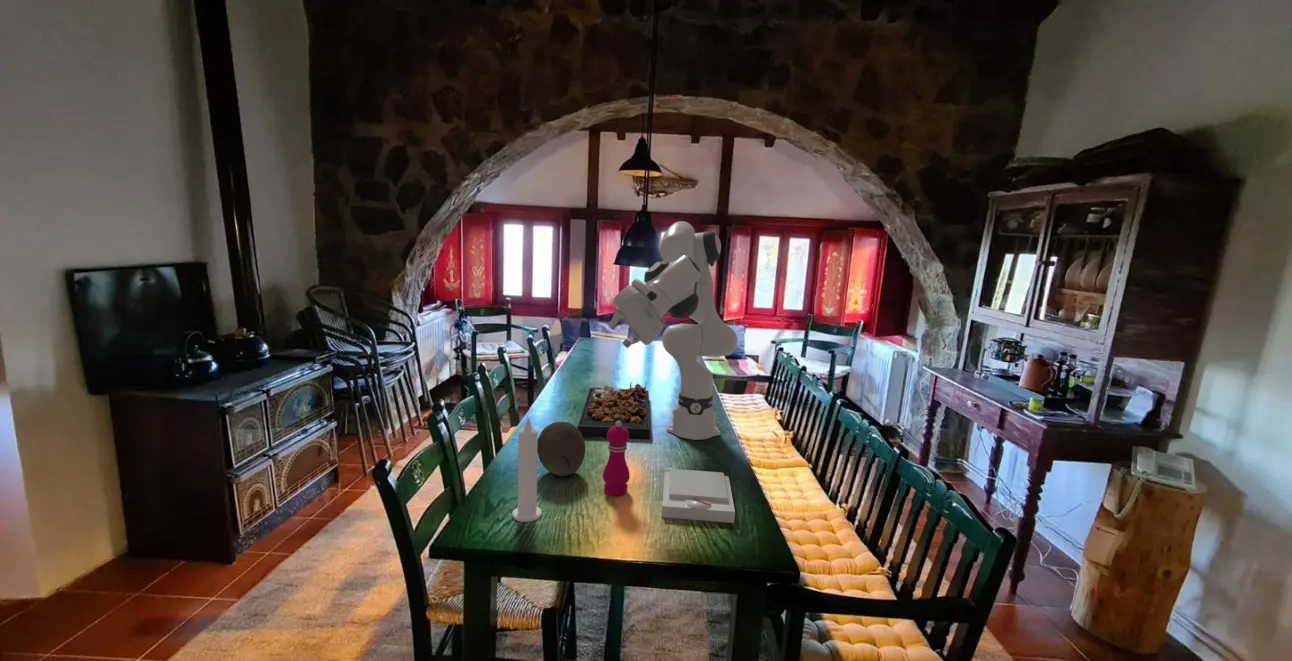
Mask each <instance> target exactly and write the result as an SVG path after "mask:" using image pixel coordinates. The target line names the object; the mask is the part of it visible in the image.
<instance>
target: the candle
mask: <svg viewBox="0 0 1292 661" xmlns="http://www.w3.org/2000/svg"><path fill="white" fill-rule="evenodd" d="M525 421H526V422H525V424H524V426H523V427H522V428H520V429H519V430H518V432H517V433H518V437H517V438H518V442H517V443H518V447H517V449H518V450H517V451H518V453H517V454H518V455H517V456H518V458H517V463H518V464H517V507H516V508H514V509H513V511H512V512H511V514H512V515H511V516H512V518H513V519H514V520H515V521H518V522H522V523H529V522H534V521H537V520H538V519H540V518H541V516H542V513H543V512H542V509H541V508H540V507H539V506H538V505H537V502H538V501H537V500H538V499H537V498H538V497H537V496H538V495H537V494H538V489H537V488H538V453H537V446H538V437H539V432H538V429H536V428H535V427H533V426H532V423H531V419H530V417H527V418H526V420H525Z"/></svg>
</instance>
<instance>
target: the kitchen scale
mask: <svg viewBox="0 0 1292 661" xmlns="http://www.w3.org/2000/svg"><path fill="white" fill-rule="evenodd" d="M663 476H664V479H663V492H662V493H663V494H662V504H661V505H662V506H661V518H667V519H668V518H669V519H680V520H694V521H703V522H704V521H706V522H717V523H728V524H729V523H730V524H731V523H732V524H735V517H736V516H735V515H736V509H735V505H734V500H733V494H732V488H731V483H730V477H729V475H725V473H724V472H722V471H721V472H718V471H708V470H707V471H706V470H705V471H704V470H694V469H693V470H692V469H678V468H670V469H669V471H664V475H663Z"/></svg>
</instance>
